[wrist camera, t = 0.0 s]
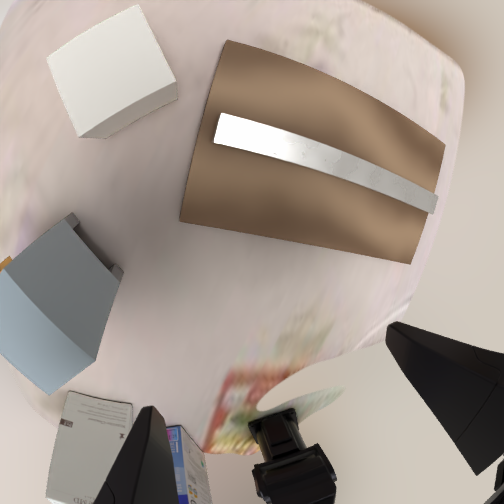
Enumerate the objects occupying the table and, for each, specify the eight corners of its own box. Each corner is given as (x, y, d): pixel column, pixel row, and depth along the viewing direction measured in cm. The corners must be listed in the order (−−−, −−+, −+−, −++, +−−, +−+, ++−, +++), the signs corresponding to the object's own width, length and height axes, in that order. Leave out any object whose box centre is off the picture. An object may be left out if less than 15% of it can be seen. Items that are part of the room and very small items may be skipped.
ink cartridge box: (141, 429, 29) (146, 527, 16) (179, 422, 29) (195, 525, 16) (171, 459, 33) (183, 539, 20) (204, 453, 33) (223, 535, 20)
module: (123, 272, 21) (95, 360, 12) (84, 307, 21) (49, 395, 12) (67, 206, 18) (-4, 258, 9) (31, 249, 18) (-35, 315, 9)
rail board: (404, 261, 28) (419, 270, 26) (179, 218, 21) (179, 227, 19) (438, 143, 24) (455, 146, 22) (224, 44, 17) (230, 32, 14)
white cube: (147, 37, 15) (138, 3, 10) (177, 99, 18) (177, 80, 12) (77, 77, 15) (45, 57, 9) (105, 139, 17) (78, 137, 12)
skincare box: (132, 402, 27) (133, 519, 13) (133, 428, 28) (136, 529, 15) (65, 388, 24) (43, 498, 10) (72, 416, 26) (59, 513, 12)
